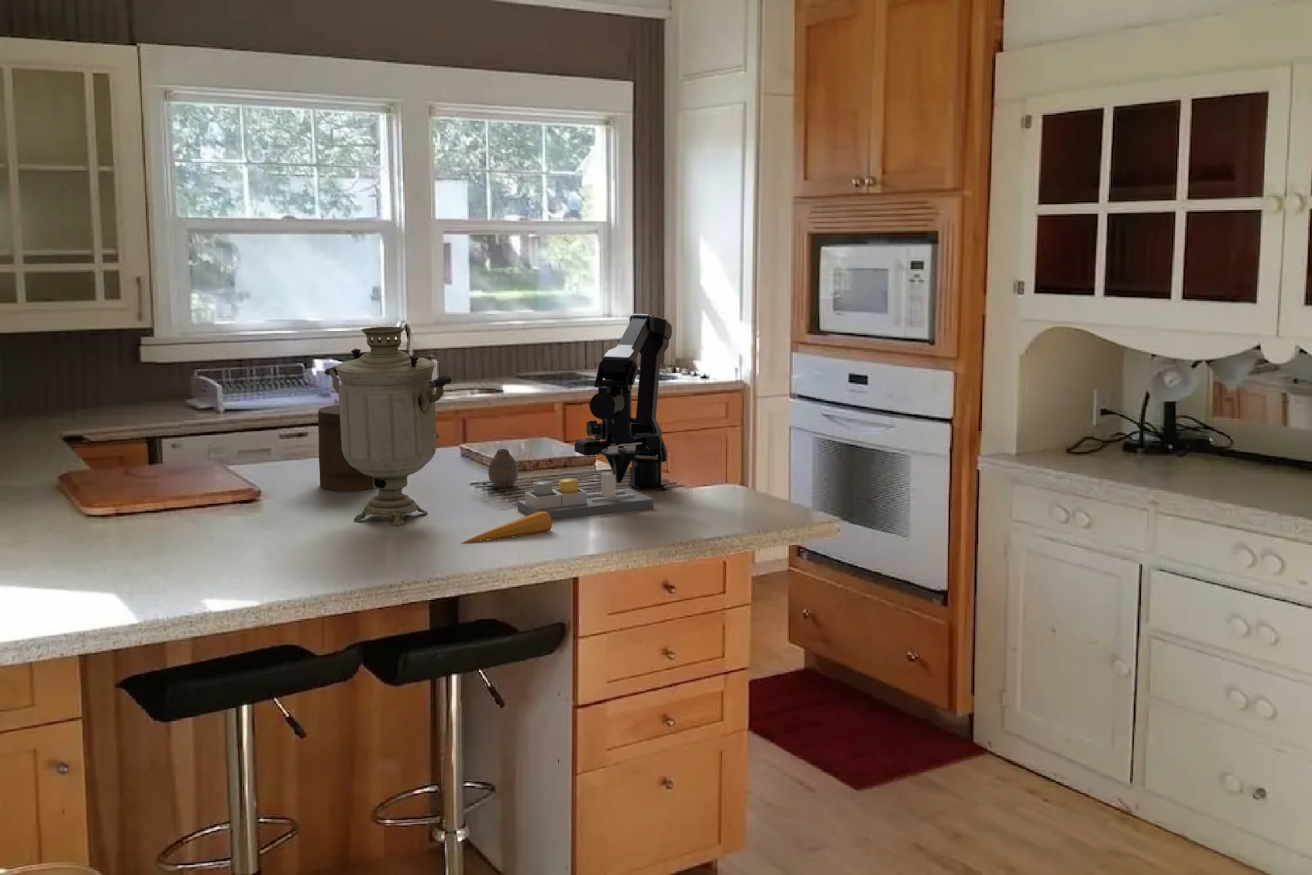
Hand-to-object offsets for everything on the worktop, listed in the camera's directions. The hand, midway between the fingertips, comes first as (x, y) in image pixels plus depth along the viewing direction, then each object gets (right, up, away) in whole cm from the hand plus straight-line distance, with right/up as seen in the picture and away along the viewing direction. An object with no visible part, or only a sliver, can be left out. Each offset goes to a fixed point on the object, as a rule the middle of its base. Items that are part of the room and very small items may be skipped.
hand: (618, 482), depth 275 cm
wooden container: (-63, -1, +21) cm, 67 cm away
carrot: (-22, -10, -25) cm, 35 cm away
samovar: (-45, -7, -9) cm, 47 cm away
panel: (-7, -6, -3) cm, 9 cm away
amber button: (-11, -2, -5) cm, 12 cm away
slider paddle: (-2, -3, 0) cm, 4 cm away
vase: (-28, -2, +19) cm, 34 cm away
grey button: (-16, -3, -8) cm, 18 cm away
